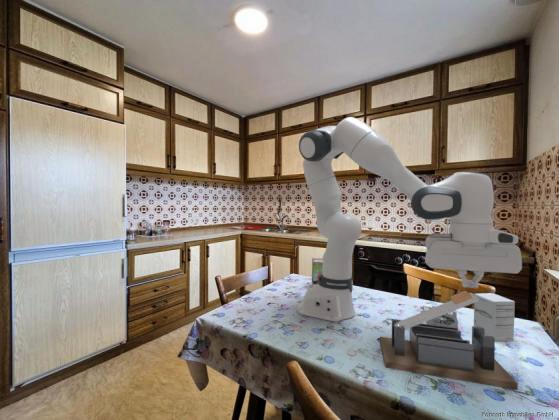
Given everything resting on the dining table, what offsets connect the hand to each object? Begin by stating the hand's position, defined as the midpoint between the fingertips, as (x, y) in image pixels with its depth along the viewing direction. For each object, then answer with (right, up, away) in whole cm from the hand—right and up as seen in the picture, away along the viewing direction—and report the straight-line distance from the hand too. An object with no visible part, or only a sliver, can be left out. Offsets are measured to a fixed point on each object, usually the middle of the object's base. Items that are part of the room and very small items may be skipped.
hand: (469, 287), depth 65 cm
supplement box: (+20, -21, +16) cm, 33 cm away
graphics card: (+7, -21, +24) cm, 33 cm away
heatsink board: (-7, -21, +2) cm, 22 cm away
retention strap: (-8, -8, +2) cm, 12 cm away
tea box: (-25, -20, +61) cm, 70 cm away
